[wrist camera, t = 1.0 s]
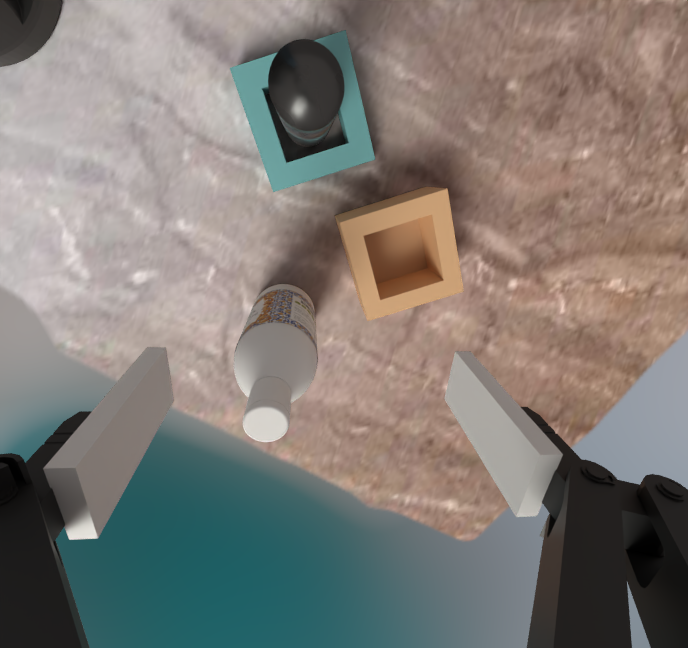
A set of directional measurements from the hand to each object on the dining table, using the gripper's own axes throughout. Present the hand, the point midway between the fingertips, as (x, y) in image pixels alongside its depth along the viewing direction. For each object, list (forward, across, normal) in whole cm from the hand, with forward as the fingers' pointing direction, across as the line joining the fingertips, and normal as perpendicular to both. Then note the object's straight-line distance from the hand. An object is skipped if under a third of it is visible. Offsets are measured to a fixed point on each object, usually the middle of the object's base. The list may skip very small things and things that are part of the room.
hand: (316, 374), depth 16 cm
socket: (+24, +9, +1) cm, 26 cm away
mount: (+24, -1, +13) cm, 28 cm away
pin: (+24, -1, +13) cm, 28 cm away
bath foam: (+24, -3, -7) cm, 25 cm away
